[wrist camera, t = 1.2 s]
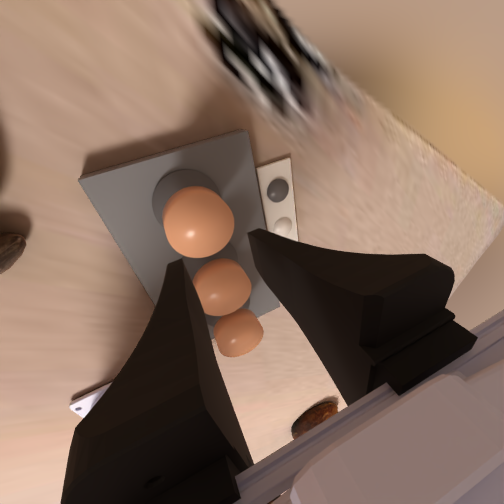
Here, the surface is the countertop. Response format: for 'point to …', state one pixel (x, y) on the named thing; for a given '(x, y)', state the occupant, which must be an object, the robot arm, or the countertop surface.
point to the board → (158, 193)
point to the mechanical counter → (10, 249)
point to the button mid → (222, 286)
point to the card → (278, 198)
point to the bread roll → (313, 418)
